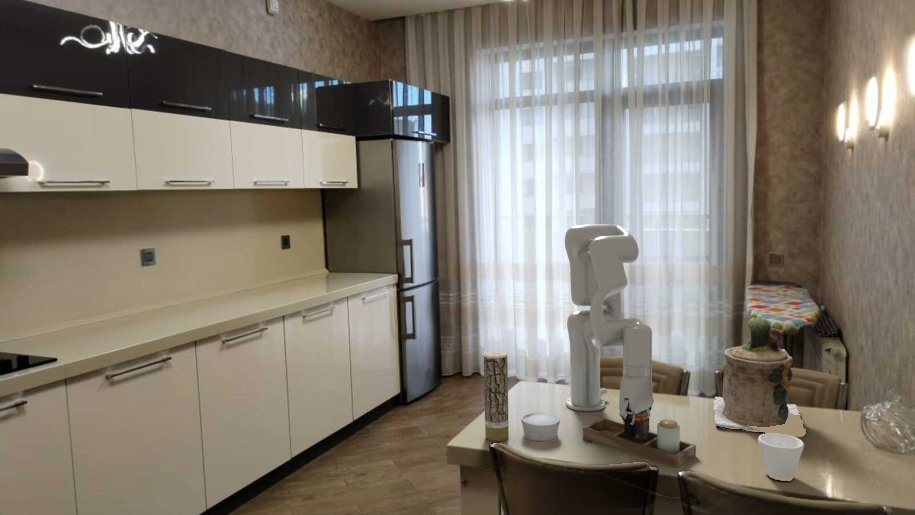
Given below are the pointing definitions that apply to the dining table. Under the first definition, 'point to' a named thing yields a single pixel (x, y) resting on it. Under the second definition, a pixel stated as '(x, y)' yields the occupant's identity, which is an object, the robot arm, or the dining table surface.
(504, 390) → the bark-patterned cylinder
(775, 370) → the cookie jar
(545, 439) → the ramekin
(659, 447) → the sage jar
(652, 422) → the dining table surface
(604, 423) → the rack
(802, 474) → the dining table surface
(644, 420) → the supplement bottle
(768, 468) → the cup
